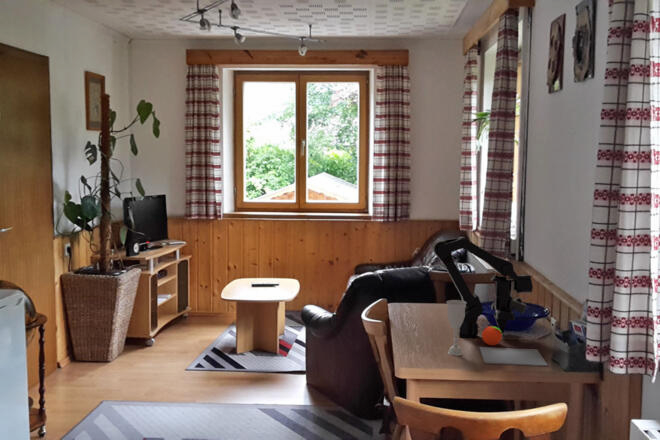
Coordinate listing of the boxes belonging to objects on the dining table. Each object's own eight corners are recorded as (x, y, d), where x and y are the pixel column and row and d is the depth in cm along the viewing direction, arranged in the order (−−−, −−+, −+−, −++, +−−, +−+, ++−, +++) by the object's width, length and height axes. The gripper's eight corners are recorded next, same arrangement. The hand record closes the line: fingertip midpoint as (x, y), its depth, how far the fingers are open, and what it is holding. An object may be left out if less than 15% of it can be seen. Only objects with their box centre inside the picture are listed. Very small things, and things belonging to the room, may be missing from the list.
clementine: (507, 345, 233) (508, 326, 233) (497, 349, 229) (498, 329, 228) (488, 341, 239) (488, 322, 238) (478, 344, 234) (478, 325, 234)
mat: (484, 363, 212) (484, 362, 212) (479, 348, 230) (479, 347, 230) (547, 366, 210) (547, 365, 210) (537, 350, 227) (537, 349, 227)
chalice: (460, 357, 218) (462, 305, 217) (441, 354, 222) (443, 302, 220) (468, 352, 225) (469, 301, 223) (449, 349, 228) (451, 299, 227)
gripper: (529, 298, 234) (528, 340, 235) (521, 288, 252) (519, 327, 253) (498, 297, 235) (496, 339, 236) (491, 287, 253) (490, 326, 255)
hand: (501, 333), depth 245 cm, fingers closed
